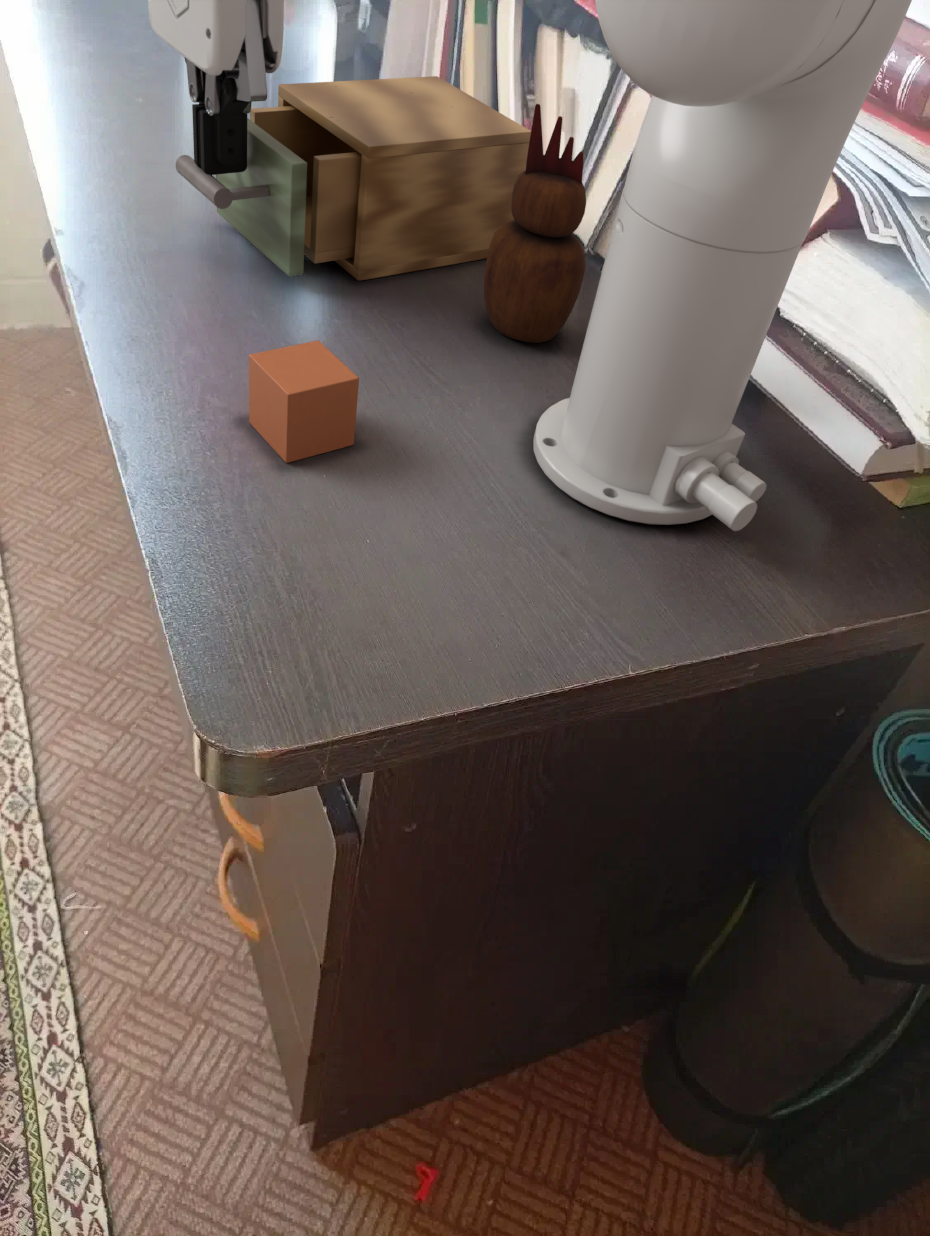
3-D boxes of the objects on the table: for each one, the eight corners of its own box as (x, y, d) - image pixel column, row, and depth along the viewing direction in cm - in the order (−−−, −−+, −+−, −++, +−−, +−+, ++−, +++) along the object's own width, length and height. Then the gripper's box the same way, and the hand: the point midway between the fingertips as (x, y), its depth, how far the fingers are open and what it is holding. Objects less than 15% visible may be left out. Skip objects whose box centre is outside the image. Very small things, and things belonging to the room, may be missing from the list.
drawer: (233, 286, 67) (231, 170, 62) (163, 218, 73) (156, 107, 68) (442, 251, 76) (456, 147, 71) (364, 194, 82) (372, 94, 77)
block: (354, 445, 57) (359, 377, 54) (286, 463, 55) (287, 394, 52) (315, 406, 60) (318, 339, 57) (248, 422, 57) (248, 354, 54)
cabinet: (358, 281, 72) (368, 146, 66) (276, 212, 79) (278, 83, 72) (509, 254, 80) (532, 131, 73) (423, 194, 86) (436, 75, 80)
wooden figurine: (463, 329, 69) (498, 103, 59) (497, 301, 73) (536, 85, 63) (548, 362, 68) (600, 136, 57) (579, 332, 72) (633, 115, 61)
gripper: (98, -199, 57) (124, 132, 69) (214, -139, 49) (220, 220, 62) (217, -186, 61) (221, 125, 73) (342, -128, 53) (322, 207, 66)
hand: (220, 168), depth 68 cm, fingers closed
